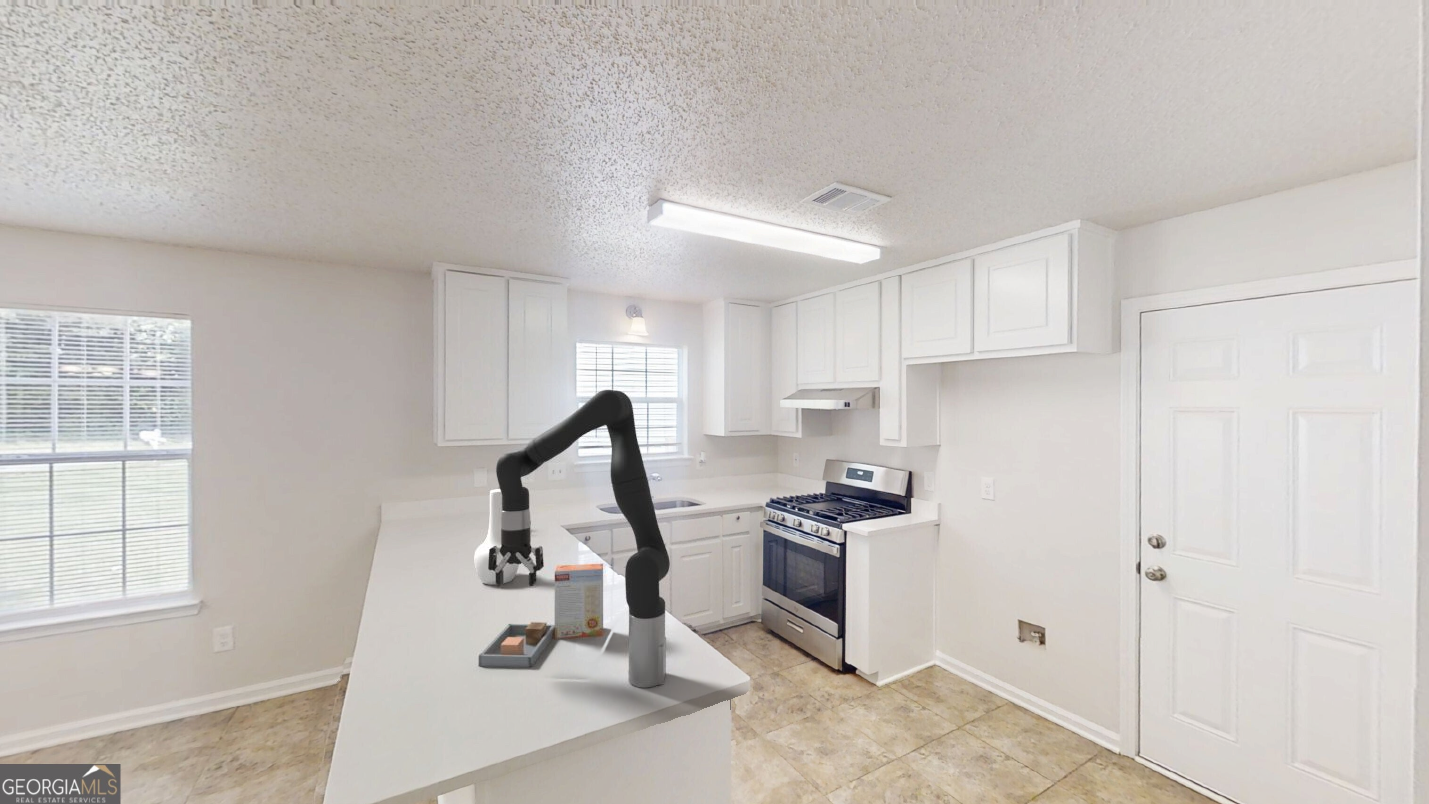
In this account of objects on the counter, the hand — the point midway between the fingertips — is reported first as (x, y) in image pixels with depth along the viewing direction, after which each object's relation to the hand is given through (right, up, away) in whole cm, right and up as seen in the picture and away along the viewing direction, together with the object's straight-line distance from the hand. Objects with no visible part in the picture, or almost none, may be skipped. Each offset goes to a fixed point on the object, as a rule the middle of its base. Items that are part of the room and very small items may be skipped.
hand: (516, 585), depth 148 cm
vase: (-31, -20, +65) cm, 74 cm away
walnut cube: (+2, -20, +11) cm, 23 cm away
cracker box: (+13, -21, +16) cm, 30 cm away
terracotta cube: (-1, -20, +1) cm, 20 cm away
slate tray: (-1, -21, +6) cm, 21 cm away
